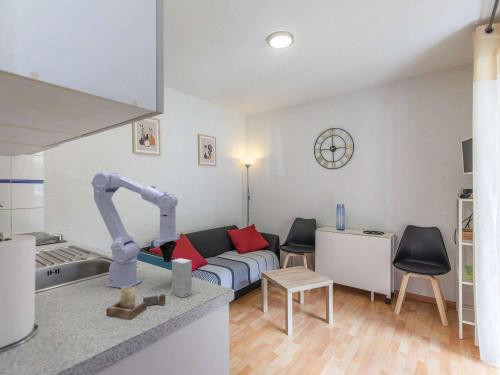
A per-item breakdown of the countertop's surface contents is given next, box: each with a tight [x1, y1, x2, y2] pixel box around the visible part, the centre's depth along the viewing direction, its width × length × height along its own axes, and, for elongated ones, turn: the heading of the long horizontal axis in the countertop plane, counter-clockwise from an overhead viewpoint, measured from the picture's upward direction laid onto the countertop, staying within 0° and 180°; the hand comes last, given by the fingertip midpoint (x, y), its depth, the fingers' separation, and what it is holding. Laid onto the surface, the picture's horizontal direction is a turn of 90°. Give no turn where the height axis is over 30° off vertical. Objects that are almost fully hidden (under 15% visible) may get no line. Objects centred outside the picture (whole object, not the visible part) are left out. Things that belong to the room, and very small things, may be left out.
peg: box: [119, 286, 136, 309], centre depth 80 cm, size 4×4×7 cm
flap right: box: [142, 294, 160, 306], centre depth 84 cm, size 5×1×3 cm, turn 113°
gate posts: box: [158, 293, 166, 306], centre depth 87 cm, size 16×1×3 cm, turn 75°
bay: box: [106, 300, 147, 321], centre depth 80 cm, size 8×7×2 cm
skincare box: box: [171, 257, 193, 298], centre depth 93 cm, size 6×4×12 cm
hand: (167, 261), depth 100 cm, fingers closed
